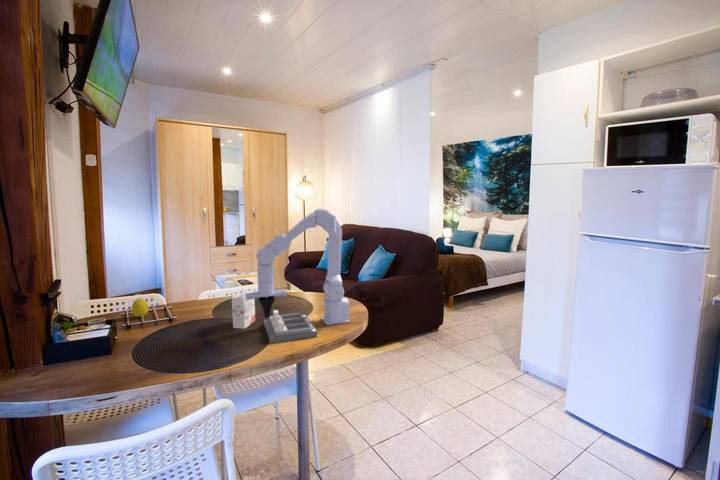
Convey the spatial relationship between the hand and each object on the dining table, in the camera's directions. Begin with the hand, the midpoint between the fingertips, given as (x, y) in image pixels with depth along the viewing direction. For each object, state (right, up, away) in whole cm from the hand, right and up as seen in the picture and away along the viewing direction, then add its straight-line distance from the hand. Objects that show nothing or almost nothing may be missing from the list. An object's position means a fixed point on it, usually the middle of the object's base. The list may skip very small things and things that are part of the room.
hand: (266, 316), depth 130 cm
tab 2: (+5, -3, -4) cm, 7 cm away
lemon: (-53, -3, +10) cm, 54 cm away
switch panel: (+9, -5, -2) cm, 10 cm away
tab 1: (+3, -2, +1) cm, 4 cm away
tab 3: (+7, -4, -9) cm, 12 cm away
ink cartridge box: (-10, -4, +4) cm, 11 cm away
